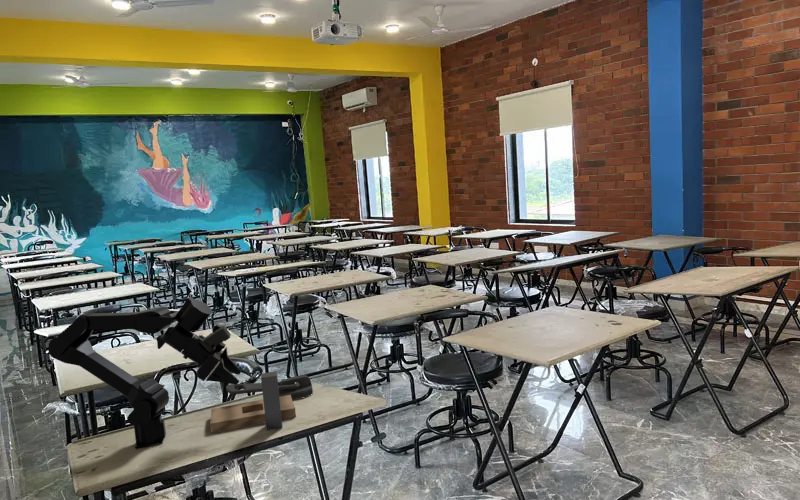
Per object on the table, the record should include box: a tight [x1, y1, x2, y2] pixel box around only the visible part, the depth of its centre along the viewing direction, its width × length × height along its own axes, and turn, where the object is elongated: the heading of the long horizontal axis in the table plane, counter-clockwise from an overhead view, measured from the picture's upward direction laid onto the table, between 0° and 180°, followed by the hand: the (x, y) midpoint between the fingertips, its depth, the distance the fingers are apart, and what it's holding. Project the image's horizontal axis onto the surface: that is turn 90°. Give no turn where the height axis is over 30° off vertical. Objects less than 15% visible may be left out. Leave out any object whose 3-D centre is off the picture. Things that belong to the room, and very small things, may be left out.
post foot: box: [209, 395, 297, 434], centre depth 156 cm, size 22×12×2 cm, turn 107°
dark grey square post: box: [260, 371, 283, 431], centre depth 148 cm, size 4×4×14 cm
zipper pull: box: [225, 374, 314, 401], centre depth 169 cm, size 9×7×25 cm
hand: (239, 377), depth 146 cm, fingers open, 9 cm apart
